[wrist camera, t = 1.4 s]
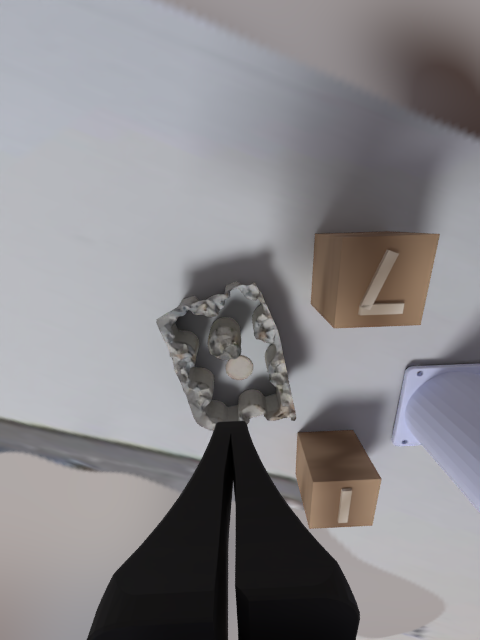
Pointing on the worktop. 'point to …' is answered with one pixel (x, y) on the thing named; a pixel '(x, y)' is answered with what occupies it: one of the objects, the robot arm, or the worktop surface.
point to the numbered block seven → (372, 277)
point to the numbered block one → (336, 479)
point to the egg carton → (238, 367)
